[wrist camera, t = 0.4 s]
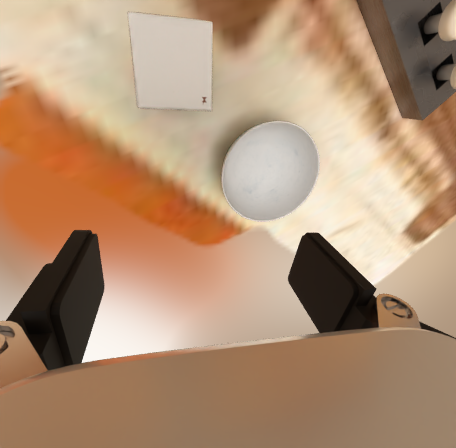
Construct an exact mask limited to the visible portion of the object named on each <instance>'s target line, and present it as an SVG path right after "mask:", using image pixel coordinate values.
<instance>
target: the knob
mask: <svg viewBox="0 0 456 448" xmlns="http://www.w3.org/2000/svg"><path fill="white" fill-rule="evenodd" d="M436 77H437V79H438V80H450V83H451V86H452V87H453V88H454V89H456V64H449V65H443V66H441V67H440V68H439V70H438V72H437V75H436Z"/></svg>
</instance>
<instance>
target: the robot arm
mask: <svg viewBox="0 0 456 448" xmlns="http://www.w3.org/2000/svg"><path fill="white" fill-rule="evenodd" d="M288 281H289V284H290V285H291V287H292V289H293V290H294V292H295V293H296V295H297V297H298V298H299V300H300V302H301V303H302V305H303V306H304V308H305V310H306V311H307V313H308V315H309V316H310V318H311V320H312V321H313V323H314V324H315V326H316V328H317V329H318V331H319V333H317V334H308V335H299V336H290V337H281V338H272V339H264V340H255V341H247V342H239V343H230V344H221V345H212V346H204V347H196V348H188V349H180V350H171V351H163V352H154V353H147V354H139V355H133V356H125V357H118V358H110V359H103V360H97V361H92V362H85V363H81V362H82V359H83V356H84V353H85V350H86V346H87V343H88V340H89V337H90V334H91V331H92V327H93V324H94V321H95V318H96V315H97V312H98V308H99V305H100V302H101V299H102V296H103V292H104V279H103V272H102V265H101V259H100V251H99V243H98V237H97V234H92V232H91V230H74V231H73V232H72V234H71V235H70V237H69V238H68V240H67V241H66V243H65V244H64V246H63V248H62V249H61V250H60V252H59V254H58V255H57V257H56V258H55V260H54V261H53V263H49V264H46V265H45V266H44V267H43V268H42V270H41V271H40V272H39V274H38V275H37V277H36V278H35V280H34V281H33V282H32V284H31V285H30V287H29V288H28V290H27V291H26V293H25V294H24V295H23V297H22V298H21V300H20V301H19V303H18V304H17V306H16V307H15V308H14V310H13V311H12V313H11V314H10V316H9V317H8V319H7V320H6V321H0V448H456V338H454V337H452V336H450V335H448V334H445V333H443V332H441V331H439V330H437V329H434V328H432V327H430V326H428V325H426V324H423V323H421V322H419V320H418V316H417V314H416V312H415V311H414V309H413V308H412V307H411V306H410V305H409V304H407V303H406V302H404V301H403V300H401V299H400V298H397V297H395V296H393V295H389V294H379V295H378V296H377V297H375V296H374V295H373V294H374V292H375V291H376V288H375V287H374V286H373V285H372V284H371V283H370V282H369V281H368V280H367V279H366V278H365V277H364V276H363V275H362V274H361V273H359V272H358V271H357V270H356V269H355V268H354V267H353V266H352V265H351V264H350V263H349V262H348V261H347V260H346V259H345V258H344V257H343V256H342V255H341V254H340V253H339V252H338V251H337V250H336V249H335V248H334V247H333V246H332V245H331V244H330V243H329V242H328V241H326V240H325V239H324V238H323V237H322V236H321V235H320V234H319V233H306V234H305V235H304V236H302V238H301V241H300V243H299V246H298V249H297V252H296V255H295V258H294V261H293V264H292V267H291V270H290V274H289V276H288Z"/></svg>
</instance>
